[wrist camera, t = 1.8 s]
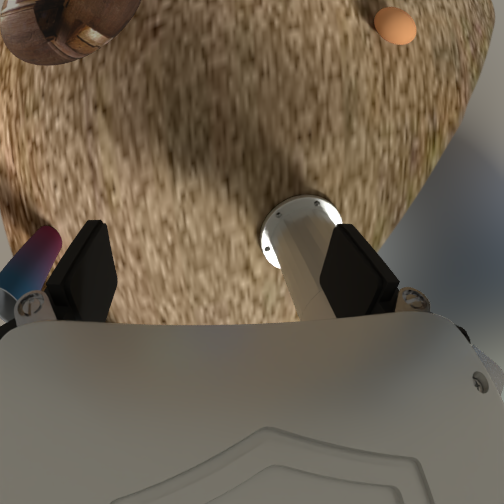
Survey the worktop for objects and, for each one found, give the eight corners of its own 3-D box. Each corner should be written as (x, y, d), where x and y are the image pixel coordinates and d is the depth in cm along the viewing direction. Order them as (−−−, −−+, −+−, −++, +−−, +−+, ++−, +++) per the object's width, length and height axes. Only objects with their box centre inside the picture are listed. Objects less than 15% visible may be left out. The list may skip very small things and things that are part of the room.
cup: (26, 227, 31) (-22, 290, 19) (55, 214, 32) (5, 281, 20) (45, 261, 35) (8, 329, 23) (73, 252, 36) (37, 325, 24)
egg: (405, 35, 24) (431, 34, 19) (383, 51, 26) (409, 51, 21) (382, 4, 21) (407, -2, 16) (358, 20, 23) (382, 14, 18)
